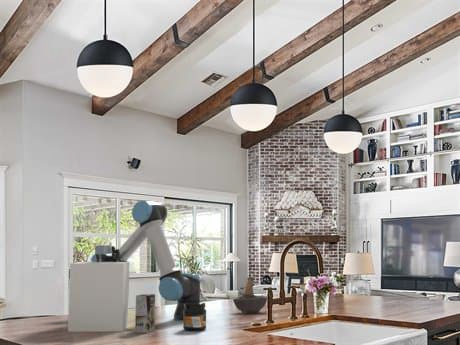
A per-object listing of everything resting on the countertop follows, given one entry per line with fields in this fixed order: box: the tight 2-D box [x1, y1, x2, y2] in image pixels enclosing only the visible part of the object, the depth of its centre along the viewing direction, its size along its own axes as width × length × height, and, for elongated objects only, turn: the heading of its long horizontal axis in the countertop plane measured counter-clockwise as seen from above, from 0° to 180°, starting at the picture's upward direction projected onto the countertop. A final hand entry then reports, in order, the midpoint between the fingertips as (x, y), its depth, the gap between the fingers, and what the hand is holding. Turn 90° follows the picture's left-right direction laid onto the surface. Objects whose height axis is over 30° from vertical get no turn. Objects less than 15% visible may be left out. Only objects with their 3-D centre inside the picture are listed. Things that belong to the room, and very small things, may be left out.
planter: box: [232, 276, 268, 314], centre depth 352 cm, size 15×17×20 cm
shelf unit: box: [67, 261, 130, 333], centre depth 289 cm, size 24×21×30 cm
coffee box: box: [134, 293, 156, 334], centre depth 278 cm, size 9×6×16 cm
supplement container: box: [182, 301, 207, 332], centre depth 283 cm, size 10×10×12 cm
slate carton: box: [94, 244, 112, 255], centre depth 299 cm, size 4×24×4 cm, turn 2°
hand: (105, 243), depth 303 cm, fingers closed on slate carton, 4 cm apart
